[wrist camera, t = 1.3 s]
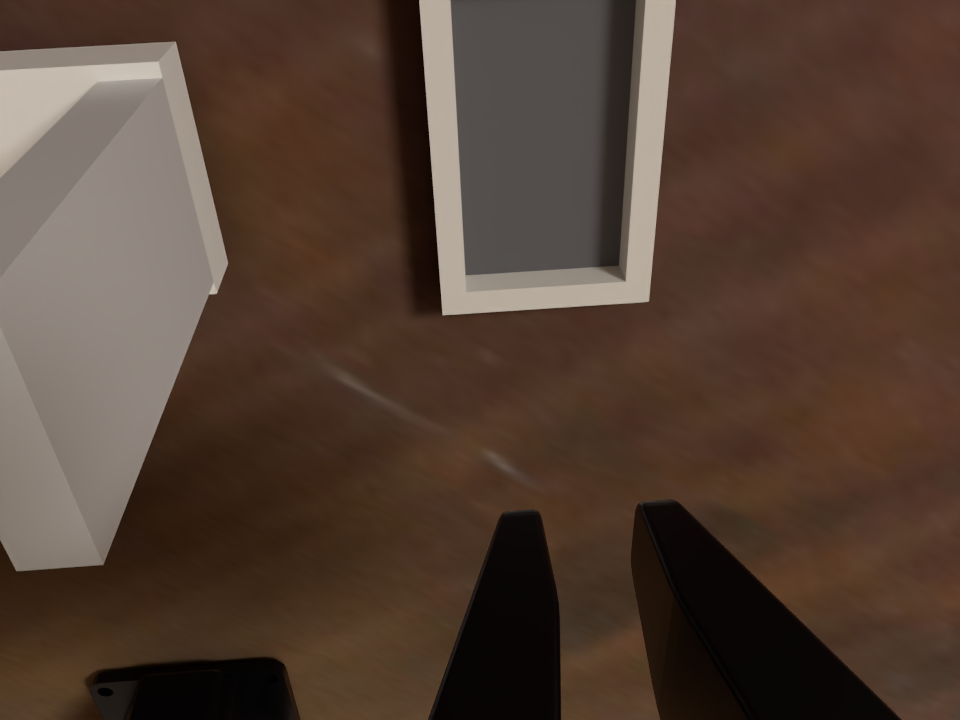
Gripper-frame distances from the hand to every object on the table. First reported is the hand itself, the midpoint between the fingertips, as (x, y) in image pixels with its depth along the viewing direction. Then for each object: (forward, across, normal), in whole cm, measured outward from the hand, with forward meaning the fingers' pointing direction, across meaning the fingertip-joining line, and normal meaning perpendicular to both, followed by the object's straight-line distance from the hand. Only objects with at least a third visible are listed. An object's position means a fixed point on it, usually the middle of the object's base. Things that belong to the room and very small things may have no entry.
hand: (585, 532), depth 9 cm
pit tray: (+12, -1, 0) cm, 12 cm away
